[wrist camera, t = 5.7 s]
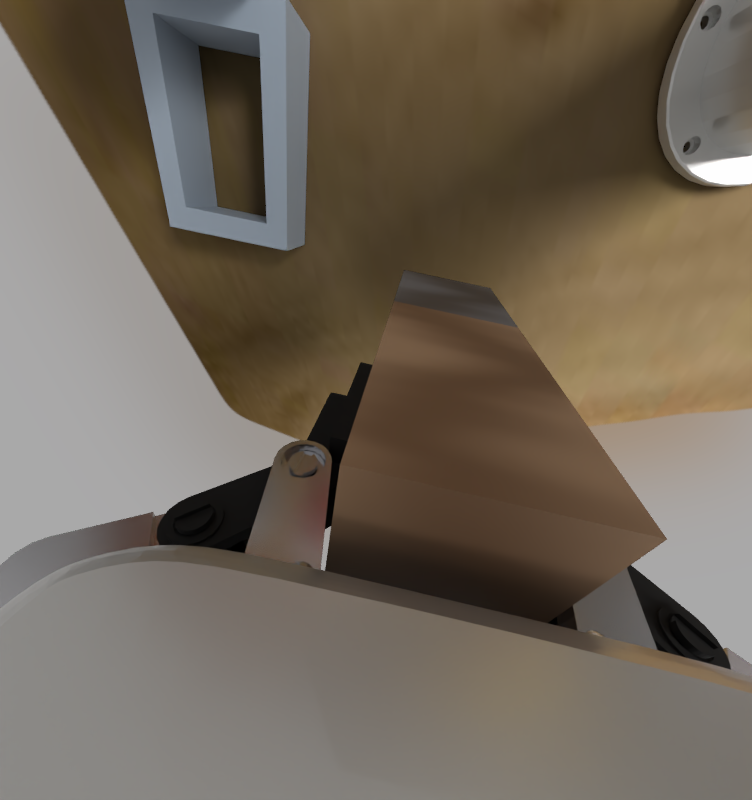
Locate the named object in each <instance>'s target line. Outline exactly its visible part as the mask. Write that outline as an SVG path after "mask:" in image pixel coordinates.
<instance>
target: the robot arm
mask: <svg viewBox="0 0 752 800" xmlns="http://www.w3.org/2000/svg"><path fill="white" fill-rule="evenodd" d="M701 21H702V27H701V26H700V22H701ZM657 123H658V133H659V140H660V143H661V146H662V149H663V152H664V155H665V157H666V159H667V160H668V161H669V163H670V164H671V166H672V167H673V168H674V170H675V171H676V172H678V173H679V174H680V175H682V176H683V177H684V178H686V179H687V180H689V181H692V182H695V183H698V184H701V185H703V186H714V187H732V186H746V185H750V184H752V0H696V2H695V3H694V5H693V7H692V9H691V11H690V13H689V15H688V17H687V18H686V20H685V22H684V24H683V26H682V28H681V30H680V32H679V34H678V37H677V39H676V42H675V44H674V47H673V49H672V52H671V54H670V57H669V59H668V62H667V65H666V69H665V73H664V76H663V80H662V84H661V88H660V92H659V102H658V112H657ZM684 145H685V148H684V150H683V147H684ZM372 366H373V365H371V364H366V363H362V362H361V363H360V365H359V368H358V370H357V373H356V375H355V378H354V380H353V383H352V385H351V388H350V390H349V392H348V395H347V396H345V395H341V394H336V393H331V394H330V395H329V397H328V399H327V401H326V403H325V405H324V407H323V409H322V411H321V413H320V415H319V417H318V419H317V421H316V423H315V425H314V427H313V429H312V431H311V433H310V435H309V437H308V439H307V440H299V441H295V442H291V443H289V444H287V445H285V446H284V447H282V448H281V449H280V450H279V451H278V453H277V455H276V457H275V459H274V462H273V465H272V466H271V467H269V468H266V469H263V470H261V471H258V472H255V473H252V474H250V475H247V476H244V477H242V478H239V479H236V480H234V481H231V482H228V483H226V484H223V485H220V486H218V487H215V488H212V489H210V490H207V491H204V492H202V493H199V494H196V495H193V496H191V497H188V498H186V499H184V500H182V501H180V502H178V503H177V504H176V505H174V506H173V507H172V508H170V509H169V510H168V511H167V513H166V514H162V515H158V516H155V515H154V513H153V512H151V513H147V514H143V515H138V516H134V517H130V518H126V519H122V520H118V521H113V522H109V523H105V524H101V525H96V526H92V527H88V528H84V529H80V530H75V531H71V532H68V533H63V534H59V535H55V536H50V537H47V538H44V539H42V540H38V541H36V542H33V543H31V544H29V545H27V546H26V547H24V548H22V549H20V550H19V551H17V552H15V553H14V554H13V555H12V556H11V557H9V558H8V559H7V560H6V561H5V562H3V563H2V564H1V565H0V800H752V665H751V664H750V663H749V662H747V661H746V660H744V659H743V658H741V657H740V656H738V655H737V654H735V653H734V652H732V651H731V650H729V649H728V648H724V649H723V648H722V647H721V645H720V644H719V642H718V641H717V639H716V638H715V637H714V636H713V635H712V633H711V632H710V631H709V630H708V629H707V628H706V627H705V626H704V625H703V624H702V623H701V622H700V621H699V620H698V619H697V618H696V617H694V616H693V615H692V614H691V613H690V612H689V611H687V610H686V609H685V608H684V607H682V606H681V605H680V604H678V603H677V602H676V601H675V600H674V599H672V598H671V597H670V596H668V595H667V594H666V593H665V592H664V591H662V590H661V589H660V588H658V587H657V586H656V585H655V584H654V583H652V582H651V581H650V580H649V579H647V578H646V577H645V576H644V575H642V574H641V573H640V572H639V571H637V570H636V569H635V568H634V567H632V566H631V565H630V566H628V567H627V568H625V569H624V570H622V571H621V572H620V573H618V574H617V575H615V576H614V577H612V578H611V579H610V580H608V581H607V582H605V583H604V584H602V585H601V586H600V587H598V588H597V589H595V590H594V591H592V592H591V593H590V594H588V595H587V596H585V597H584V598H582V599H581V600H580V601H578V602H577V603H575V604H574V605H572V606H571V607H570V608H568V609H567V610H565V611H564V612H563V613H561V614H560V615H558V616H557V617H555V618H554V619H553V620H551V621H550V622H548V623H544V622H540V621H536V620H531V619H527V618H523V617H519V616H515V615H510V614H506V613H502V612H498V611H494V610H489V609H485V608H481V607H477V606H473V605H468V604H464V603H460V602H456V601H452V600H447V599H443V598H439V597H435V596H430V595H426V594H422V593H418V592H414V591H409V590H405V589H401V588H396V587H392V586H388V585H384V584H379V583H375V582H371V581H366V580H362V579H358V578H353V577H349V576H345V575H340V574H336V573H332V572H328V571H323V570H321V560H322V550H323V541H324V532H325V529H326V528H328V527H330V526H331V525H332V518H333V511H334V504H335V497H336V490H337V483H338V475H339V468H340V463H341V460H342V457H343V454H344V451H345V448H346V445H347V442H348V439H349V436H350V433H351V430H352V427H353V424H354V420H355V417H356V414H357V411H358V408H359V405H360V402H361V399H362V396H363V393H364V390H365V387H366V384H367V381H368V378H369V375H370V372H371V369H372Z"/></svg>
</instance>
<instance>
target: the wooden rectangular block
mask: <svg viewBox="0 0 752 800" xmlns="http://www.w3.org/2000/svg"><path fill="white" fill-rule="evenodd" d="M665 540H667V538H666V537H665V536H664V534H663V533H662V531H661V530H660V529H659V527H658V526H657V524H656V523H655V522H654V520H653V519H652V517H651V516H650V514H649V513H648V511H647V510H646V509H645V507H644V506H643V504H642V503H641V502H640V500H639V499H638V497H637V496H636V494H635V493H634V492H633V490H632V489H631V487H630V486H629V485H628V483H627V482H626V480H625V479H624V477H623V476H622V475H621V473H620V472H619V470H618V469H617V467H616V466H615V465H614V463H613V462H612V461H611V459H610V458H609V456H608V455H607V453H606V452H605V450H604V449H603V448H602V446H601V445H600V443H599V442H598V440H597V439H596V438H595V436H594V435H593V433H592V432H591V431H590V429H589V428H588V426H587V425H586V423H585V422H584V421H583V419H582V418H581V416H580V415H579V414H578V412H577V411H576V409H575V408H574V406H573V405H572V404H571V402H570V401H569V399H568V398H567V396H566V395H565V394H564V392H563V391H562V389H561V388H560V387H559V385H558V384H557V382H556V381H555V379H554V378H553V377H552V375H551V374H550V372H549V371H548V370H547V368H546V367H545V365H544V364H543V362H542V361H541V360H540V358H539V357H538V355H537V354H536V352H535V351H534V350H533V348H532V347H531V345H530V344H529V343H528V341H527V340H526V338H525V337H524V335H523V334H522V333H521V331H520V330H519V328H518V327H517V326H516V324H515V323H514V321H513V320H512V318H511V317H510V316H509V314H508V313H507V311H506V310H505V308H504V307H503V306H502V304H501V303H500V301H499V300H498V299H497V297H496V296H495V294H494V293H493V291H492V290H491V289H490V288H487V287H482V286H478V285H473V284H468V283H463V282H459V281H454V280H449V279H445V278H440V277H435V276H431V275H426V274H421V273H416V272H412V271H407V270H404V272H403V275H402V278H401V281H400V284H399V287H398V290H397V293H396V296H395V299H394V302H393V305H392V308H391V311H390V314H389V317H388V320H387V323H386V326H385V330H384V333H383V336H382V339H381V342H380V345H379V348H378V351H377V354H376V357H375V360H374V363H373V366H372V369H371V372H370V375H369V378H368V381H367V384H366V387H365V390H364V393H363V396H362V399H361V402H360V405H359V408H358V411H357V414H356V417H355V420H354V424H353V427H352V430H351V433H350V436H349V439H348V442H347V445H346V448H345V451H344V454H343V457H342V460H341V463H340V468H339V475H338V483H337V490H336V497H335V504H334V511H333V518H332V525H331V533H330V540H329V547H328V555H327V561H326V569H325V571H328V572H332V573H336V574H340V575H345V576H349V577H353V578H358V579H362V580H366V581H371V582H375V583H379V584H384V585H388V586H392V587H396V588H401V589H405V590H409V591H414V592H418V593H422V594H426V595H430V596H435V597H439V598H443V599H447V600H452V601H456V602H460V603H464V604H468V605H473V606H477V607H481V608H485V609H489V610H494V611H498V612H502V613H506V614H510V615H515V616H519V617H523V618H527V619H531V620H536V621H540V622H544V623H548V622H550V621H551V620H553V619H554V618H555V617H557V616H558V615H560V614H561V613H563V612H564V611H565V610H567V609H568V608H570V607H571V606H572V605H574V604H575V603H577V602H578V601H580V600H581V599H582V598H584V597H585V596H587V595H588V594H590V593H591V592H592V591H594V590H595V589H597V588H598V587H600V586H601V585H602V584H604V583H605V582H607V581H608V580H610V579H611V578H612V577H614V576H615V575H617V574H618V573H620V572H621V571H622V570H624V569H625V568H627V567H628V566H630V565H631V564H632V563H634V562H635V561H637V560H638V559H640V558H641V557H642V556H644V555H645V554H647V553H648V552H650V551H651V550H652V549H654V548H655V547H657V546H658V545H660V544H661V543H662V542H664V541H665Z"/></svg>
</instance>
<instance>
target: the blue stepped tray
mask: <svg viewBox="0 0 752 800" xmlns="http://www.w3.org/2000/svg"><path fill="white" fill-rule="evenodd" d="M124 1H125V5H126V10H127V15H128V20H129V25H130V30H131V35H132V40H133V45H134V50H135V55H136V60H137V65H138V69H139V74H140V79H141V84H142V89H143V94H144V99H145V104H146V109H147V114H148V119H149V124H150V128H151V133H152V138H153V143H154V148H155V153H156V158H157V163H158V168H159V173H160V178H161V183H162V187H163V192H164V197H165V202H166V207H167V212H168V217H169V222H170V226H171V227H176V228H180V229H185V230H190V231H195V232H199V233H204V234H209V235H214V236H219V237H223V238H228V239H233V240H238V241H242V242H247V243H252V244H257V245H261V246H266V247H271V248H276V249H280V250H285V251H288V250H291V249H294V248H297V247H300V246H303V245H305V211H306V172H307V133H308V94H309V55H310V32H309V31H308V29H307V28H306V26H305V25H304V23H303V22H302V20H301V18H300V17H299V15H298V14H297V12H296V11H295V9H294V8H293V6H292V4H291V3H290V1H289V0H124ZM198 45H199V46H204V47H209V48H214V49H219V50H224V51H229V52H234V53H239V54H243V55H248V56H253V57H258V58H260V68H261V93H262V118H263V144H264V169H265V194H266V217H265V216H260V215H256V214H251V213H246V212H241V211H236V210H232V209H227V208H222V207H218V206H217V198H216V189H215V181H214V172H213V164H212V156H211V147H210V139H209V130H208V122H207V114H206V105H205V97H204V89H203V80H202V72H201V63H200V55H199V47H198Z"/></svg>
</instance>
